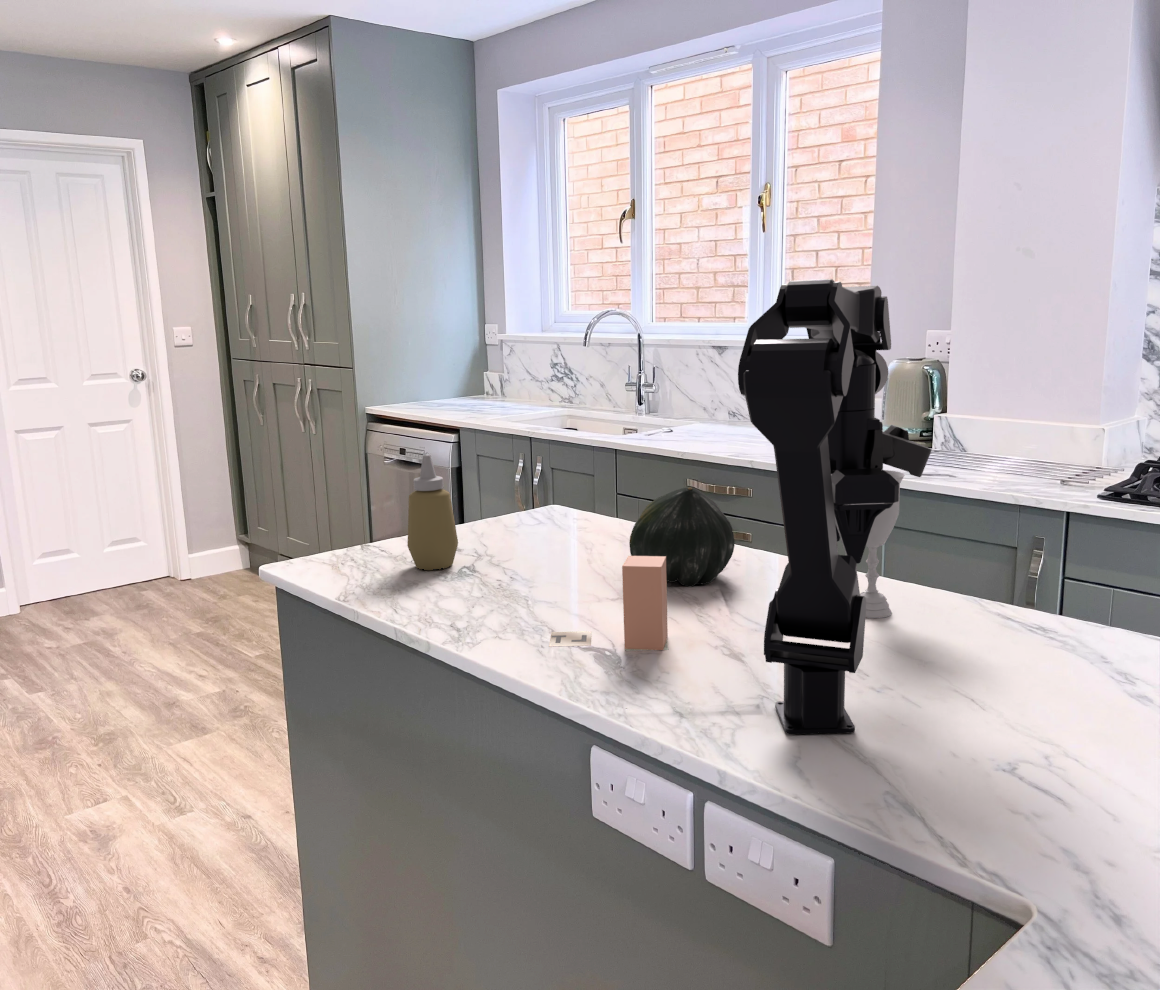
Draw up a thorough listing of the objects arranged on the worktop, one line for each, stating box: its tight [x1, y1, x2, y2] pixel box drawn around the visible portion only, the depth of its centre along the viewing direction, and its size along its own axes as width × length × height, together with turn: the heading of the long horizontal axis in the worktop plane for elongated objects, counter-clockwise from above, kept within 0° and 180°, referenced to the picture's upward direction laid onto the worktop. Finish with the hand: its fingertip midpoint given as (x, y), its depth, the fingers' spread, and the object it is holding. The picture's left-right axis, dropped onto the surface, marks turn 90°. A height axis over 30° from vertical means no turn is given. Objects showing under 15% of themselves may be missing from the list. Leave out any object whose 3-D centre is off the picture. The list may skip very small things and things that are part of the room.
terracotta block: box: [621, 555, 669, 651], centre depth 112 cm, size 4×4×10 cm
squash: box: [629, 487, 735, 588], centre depth 139 cm, size 14×15×15 cm
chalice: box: [860, 469, 905, 619], centre depth 122 cm, size 7×7×18 cm
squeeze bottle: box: [407, 454, 459, 571], centre depth 152 cm, size 8×8×18 cm
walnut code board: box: [548, 630, 669, 652], centre depth 114 cm, size 8×14×1 cm, turn 88°
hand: (844, 551), depth 104 cm, fingers open, 9 cm apart
